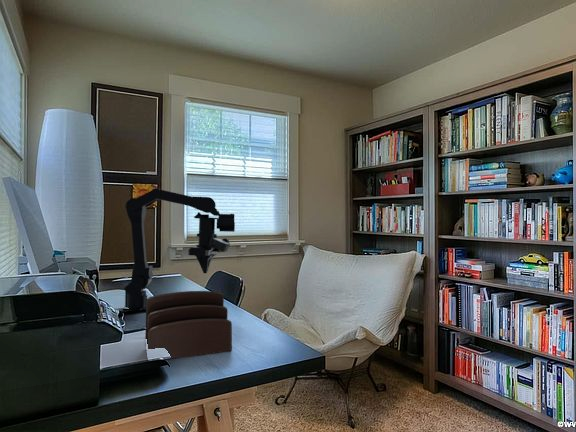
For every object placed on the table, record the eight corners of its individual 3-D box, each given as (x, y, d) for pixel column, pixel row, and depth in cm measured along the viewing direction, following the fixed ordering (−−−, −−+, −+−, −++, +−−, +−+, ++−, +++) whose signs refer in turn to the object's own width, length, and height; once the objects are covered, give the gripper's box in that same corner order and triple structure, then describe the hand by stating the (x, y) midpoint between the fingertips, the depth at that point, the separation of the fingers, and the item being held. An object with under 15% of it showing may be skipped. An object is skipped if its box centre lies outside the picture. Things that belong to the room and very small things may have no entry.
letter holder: (144, 349, 94) (146, 293, 94) (222, 340, 102) (223, 288, 102) (147, 363, 85) (148, 301, 85) (232, 352, 93) (233, 295, 93)
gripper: (219, 232, 128) (217, 278, 128) (235, 231, 147) (233, 271, 146) (188, 231, 130) (186, 276, 130) (207, 230, 148) (206, 269, 148)
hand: (205, 273), depth 138 cm, fingers closed
